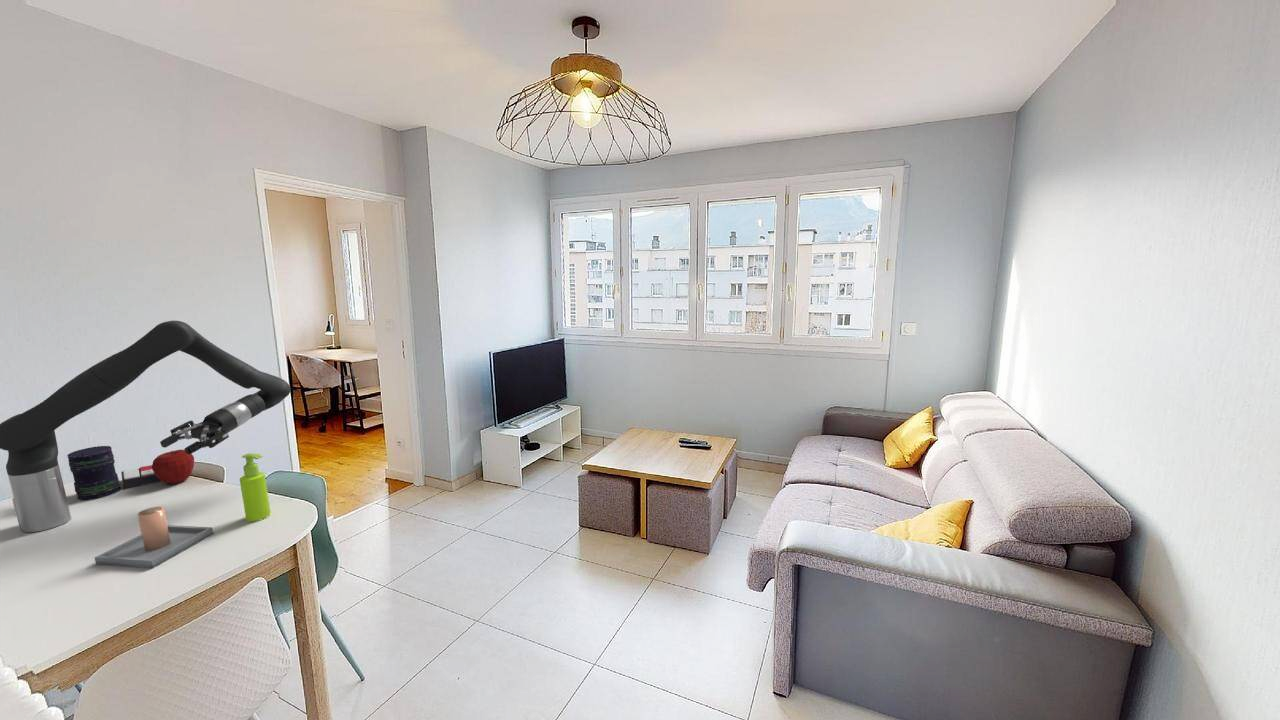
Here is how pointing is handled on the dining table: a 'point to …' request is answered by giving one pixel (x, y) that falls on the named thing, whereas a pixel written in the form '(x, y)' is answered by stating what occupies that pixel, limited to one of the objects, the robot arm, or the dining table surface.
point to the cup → (154, 528)
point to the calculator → (138, 477)
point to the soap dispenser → (254, 490)
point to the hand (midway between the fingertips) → (174, 448)
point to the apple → (173, 466)
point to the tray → (137, 556)
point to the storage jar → (93, 472)
